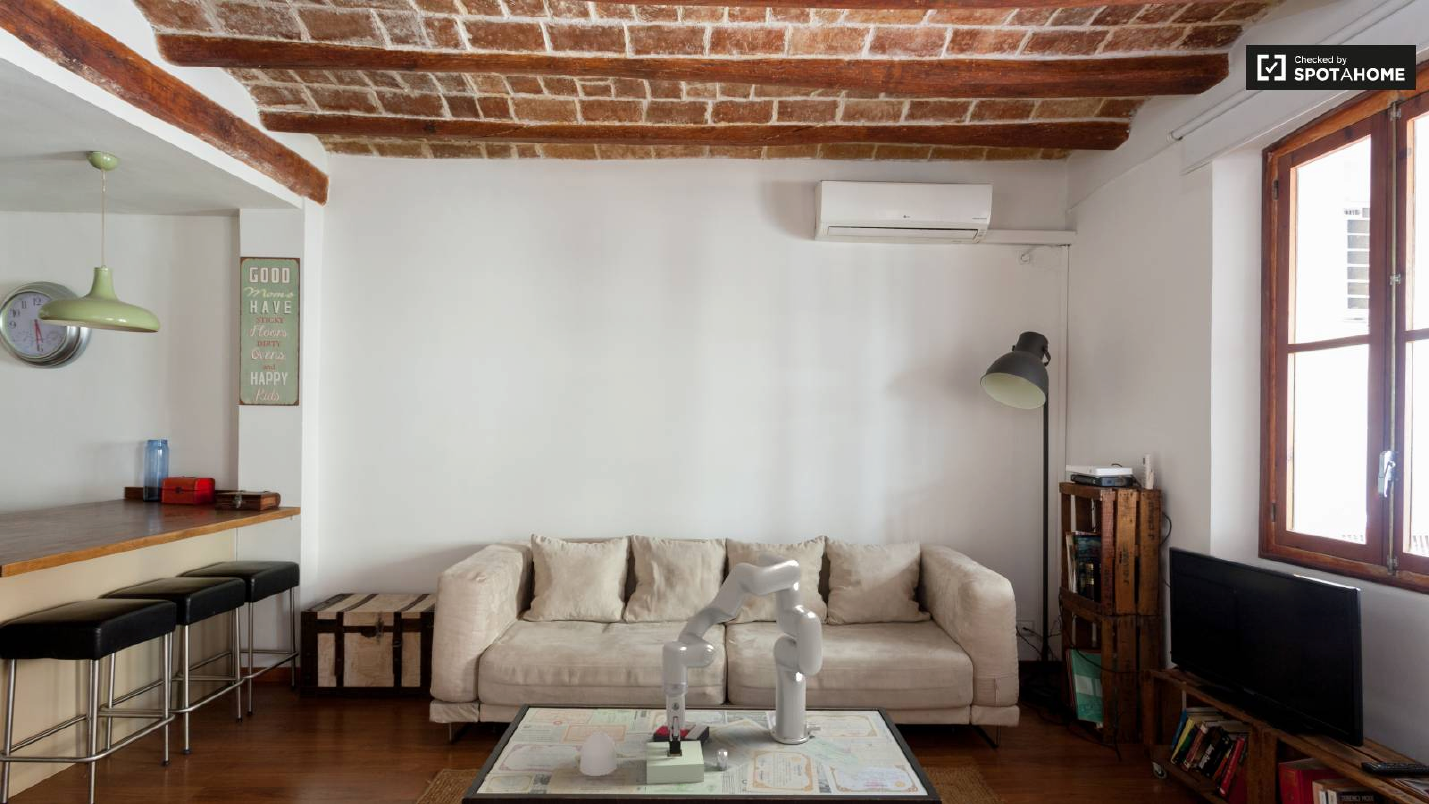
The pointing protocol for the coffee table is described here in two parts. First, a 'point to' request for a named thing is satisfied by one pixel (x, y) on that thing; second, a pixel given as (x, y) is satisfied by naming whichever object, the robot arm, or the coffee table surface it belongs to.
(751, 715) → the coffee table surface
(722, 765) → the short pin
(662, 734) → the calculator
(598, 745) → the teardrop
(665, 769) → the peg block
